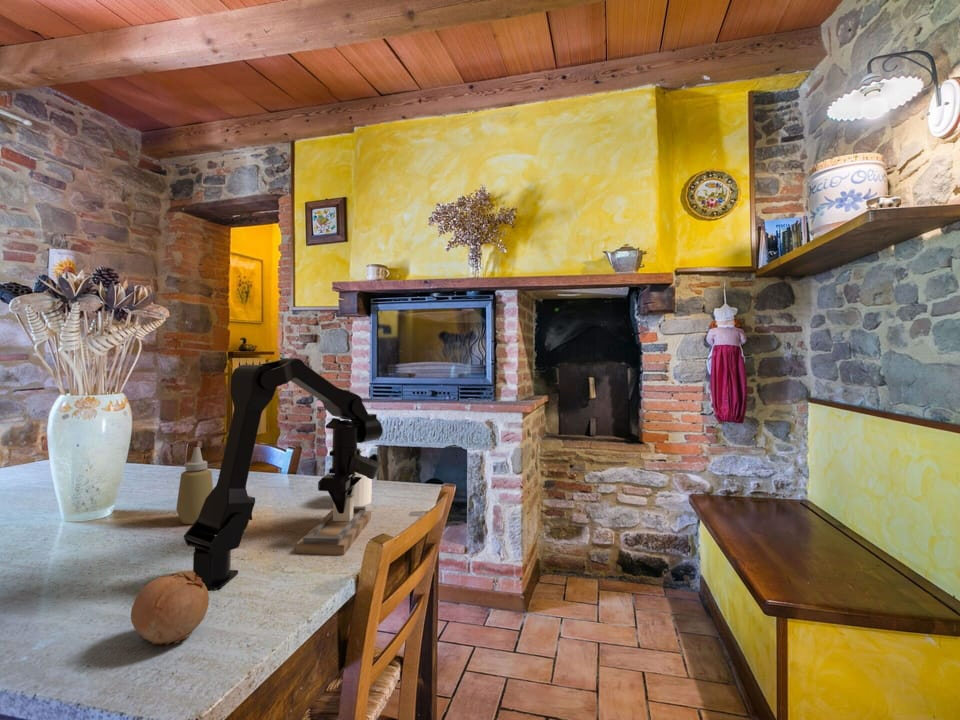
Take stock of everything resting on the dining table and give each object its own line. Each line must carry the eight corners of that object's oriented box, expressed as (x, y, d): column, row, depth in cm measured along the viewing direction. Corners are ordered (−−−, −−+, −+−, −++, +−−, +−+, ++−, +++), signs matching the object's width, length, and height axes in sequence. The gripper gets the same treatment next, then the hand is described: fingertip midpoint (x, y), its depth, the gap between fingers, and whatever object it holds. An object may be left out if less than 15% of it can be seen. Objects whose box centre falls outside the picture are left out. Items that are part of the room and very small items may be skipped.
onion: (197, 644, 72) (231, 577, 75) (168, 666, 63) (208, 588, 66) (137, 622, 72) (174, 555, 75) (99, 640, 63) (143, 563, 66)
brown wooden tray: (344, 554, 98) (344, 539, 98) (296, 553, 99) (296, 537, 99) (371, 519, 120) (371, 506, 120) (331, 517, 121) (332, 505, 121)
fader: (349, 521, 112) (350, 498, 112) (332, 521, 112) (333, 497, 112) (353, 517, 115) (353, 494, 115) (336, 516, 115) (337, 494, 115)
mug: (376, 505, 132) (377, 468, 132) (340, 510, 127) (341, 472, 127) (361, 493, 143) (362, 459, 143) (327, 498, 137) (328, 462, 137)
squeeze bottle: (168, 522, 115) (170, 448, 115) (201, 513, 122) (203, 443, 122) (188, 529, 111) (190, 452, 111) (221, 519, 118) (223, 446, 118)
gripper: (368, 454, 104) (366, 525, 104) (386, 440, 123) (385, 500, 123) (317, 453, 104) (316, 524, 105) (344, 439, 123) (342, 499, 123)
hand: (343, 510), depth 114 cm, fingers closed on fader, 3 cm apart
